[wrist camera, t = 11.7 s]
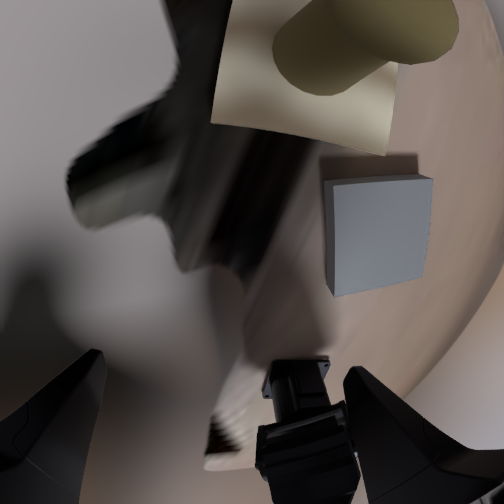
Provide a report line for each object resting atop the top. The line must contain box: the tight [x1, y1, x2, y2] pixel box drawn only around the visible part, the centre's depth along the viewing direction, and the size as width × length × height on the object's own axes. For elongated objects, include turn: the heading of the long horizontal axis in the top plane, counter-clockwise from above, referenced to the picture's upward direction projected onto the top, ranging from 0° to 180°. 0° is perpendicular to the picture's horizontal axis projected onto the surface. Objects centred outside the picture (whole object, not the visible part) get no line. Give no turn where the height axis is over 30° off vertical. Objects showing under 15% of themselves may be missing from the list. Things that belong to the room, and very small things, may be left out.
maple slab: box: [211, 0, 398, 156], centre depth 14 cm, size 12×12×2 cm
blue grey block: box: [324, 174, 433, 297], centre depth 21 cm, size 9×9×2 cm
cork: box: [272, 0, 459, 96], centre depth 9 cm, size 6×6×11 cm
